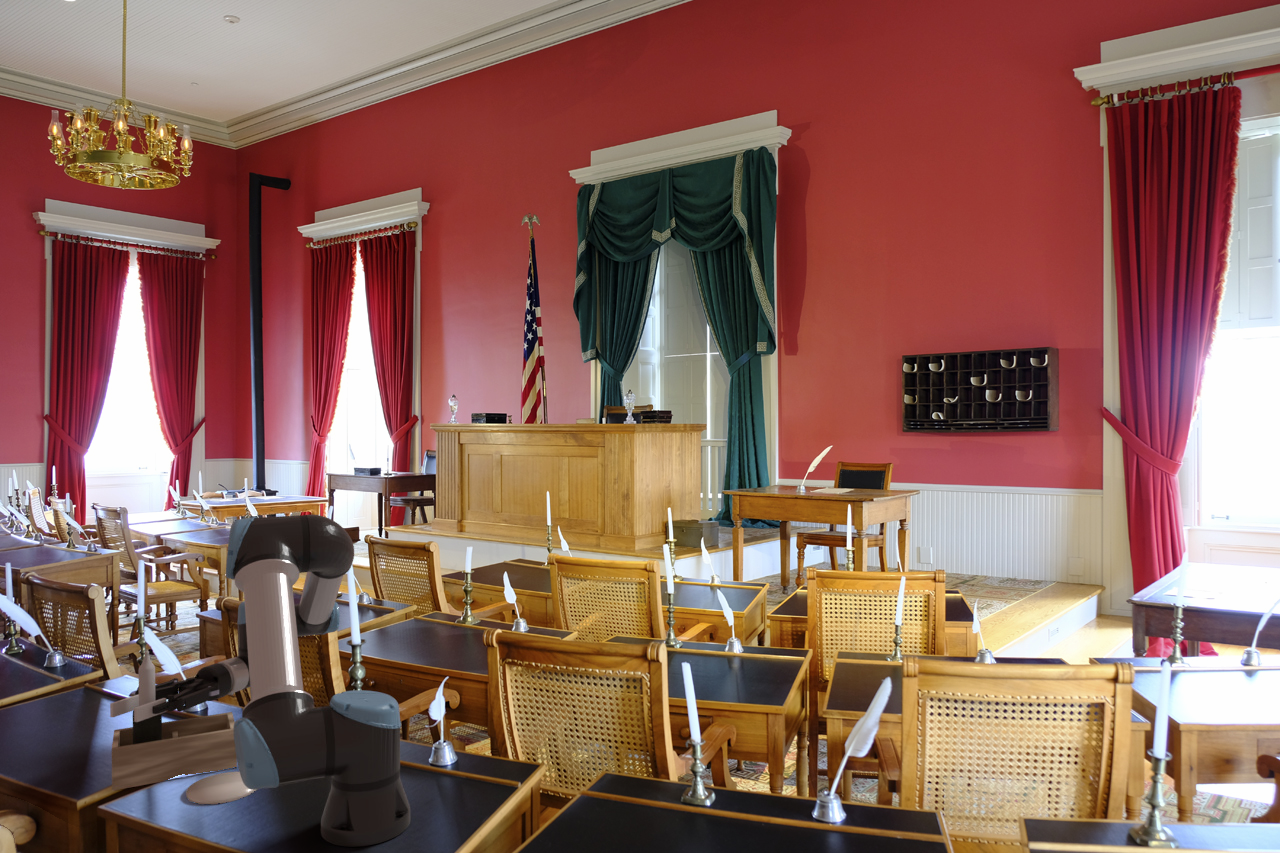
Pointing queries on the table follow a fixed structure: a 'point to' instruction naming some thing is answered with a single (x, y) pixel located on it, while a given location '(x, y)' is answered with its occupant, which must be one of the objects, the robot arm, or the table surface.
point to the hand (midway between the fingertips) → (123, 712)
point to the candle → (153, 725)
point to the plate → (218, 789)
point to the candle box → (174, 751)
